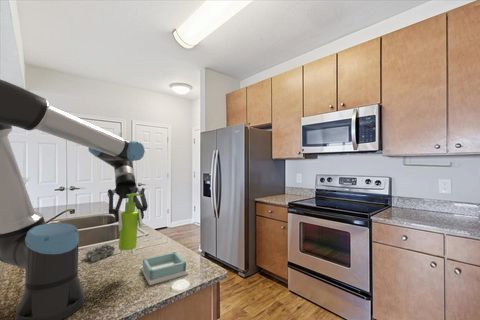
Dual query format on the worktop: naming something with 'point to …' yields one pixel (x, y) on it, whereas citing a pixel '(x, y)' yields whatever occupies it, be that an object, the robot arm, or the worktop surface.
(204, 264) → the worktop surface
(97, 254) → the egg carton
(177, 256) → the cradle
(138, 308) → the worktop surface
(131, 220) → the soap dispenser
